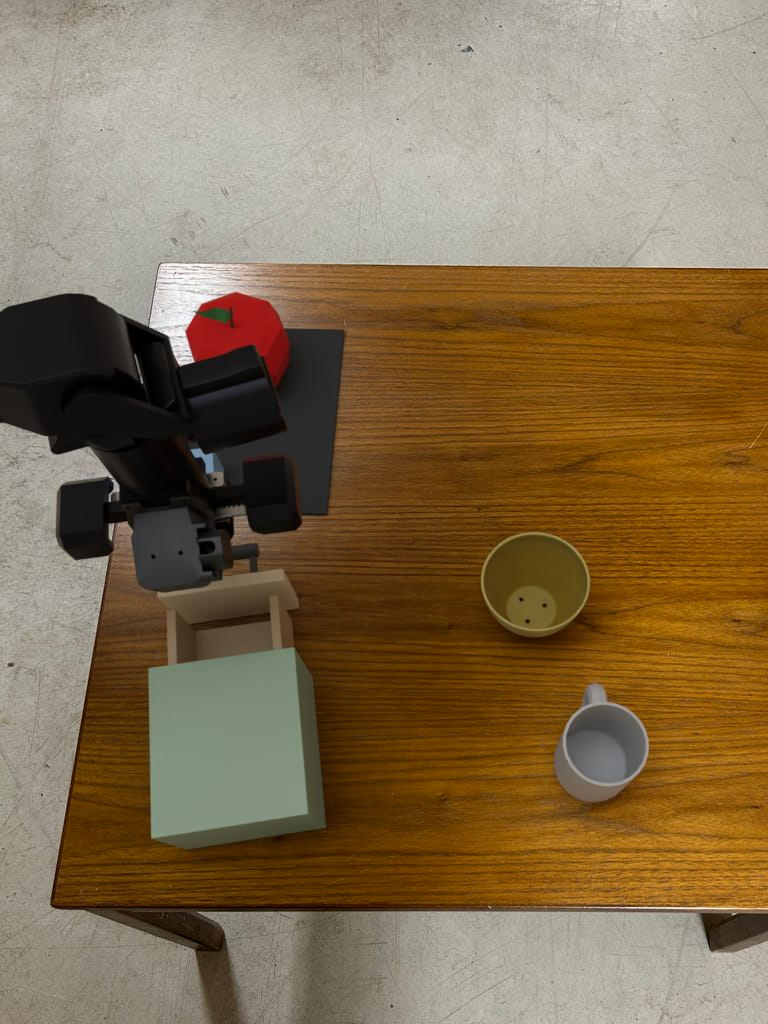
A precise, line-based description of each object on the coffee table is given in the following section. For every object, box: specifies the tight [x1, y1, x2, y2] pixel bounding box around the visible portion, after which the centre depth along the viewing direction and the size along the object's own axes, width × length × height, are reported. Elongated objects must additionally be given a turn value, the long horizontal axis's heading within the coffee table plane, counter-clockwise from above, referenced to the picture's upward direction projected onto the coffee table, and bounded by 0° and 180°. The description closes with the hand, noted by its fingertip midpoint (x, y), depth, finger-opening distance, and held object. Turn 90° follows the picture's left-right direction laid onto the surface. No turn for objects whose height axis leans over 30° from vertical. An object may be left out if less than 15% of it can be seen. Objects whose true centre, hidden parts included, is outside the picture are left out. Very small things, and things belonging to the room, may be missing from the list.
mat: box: [189, 327, 345, 516], centre depth 88 cm, size 16×24×1 cm, turn 179°
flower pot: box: [480, 531, 591, 638], centre depth 77 cm, size 10×10×7 cm
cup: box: [553, 682, 650, 803], centre depth 72 cm, size 7×10×9 cm
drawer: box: [157, 542, 300, 665], centre depth 75 cm, size 18×11×7 cm, turn 9°
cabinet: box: [147, 646, 327, 851], centre depth 71 cm, size 15×13×9 cm
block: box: [191, 448, 224, 474], centre depth 83 cm, size 4×4×4 cm
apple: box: [185, 291, 289, 388], centre depth 85 cm, size 11×11×10 cm
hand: (212, 552), depth 73 cm, fingers closed
